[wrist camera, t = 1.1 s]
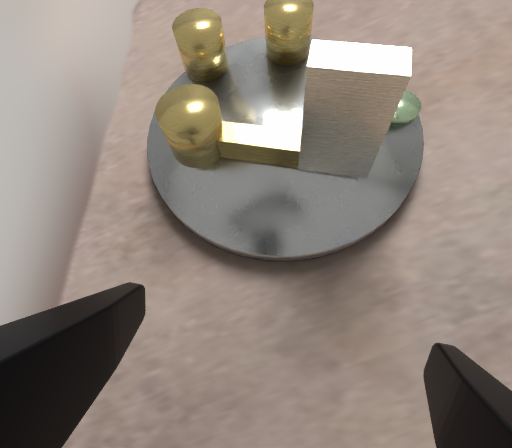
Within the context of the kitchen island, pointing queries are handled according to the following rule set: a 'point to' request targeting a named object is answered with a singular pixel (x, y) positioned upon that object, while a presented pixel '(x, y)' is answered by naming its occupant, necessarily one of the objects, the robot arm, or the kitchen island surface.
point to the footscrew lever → (314, 115)
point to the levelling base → (268, 175)
